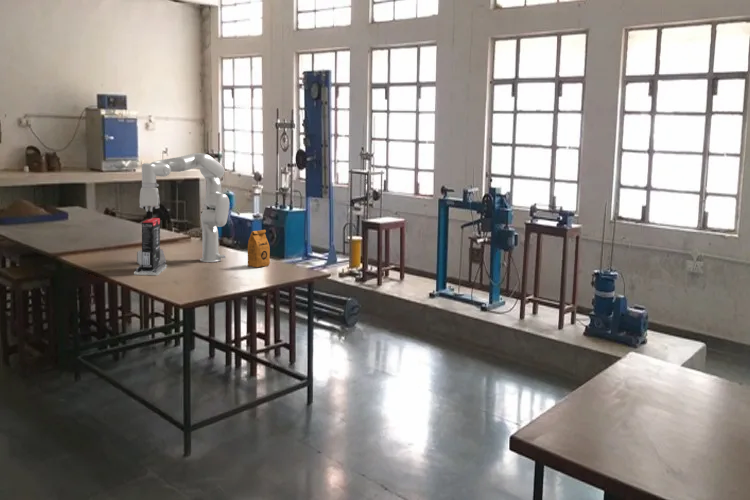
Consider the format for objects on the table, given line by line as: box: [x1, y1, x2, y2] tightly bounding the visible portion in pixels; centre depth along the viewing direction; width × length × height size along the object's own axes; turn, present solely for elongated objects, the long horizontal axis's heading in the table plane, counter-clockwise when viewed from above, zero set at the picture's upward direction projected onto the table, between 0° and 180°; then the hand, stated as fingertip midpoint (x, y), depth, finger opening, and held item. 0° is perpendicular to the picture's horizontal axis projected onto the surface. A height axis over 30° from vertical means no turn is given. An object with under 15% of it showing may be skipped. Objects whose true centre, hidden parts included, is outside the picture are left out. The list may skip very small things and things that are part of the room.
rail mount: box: [133, 261, 168, 276], centre depth 386 cm, size 13×22×4 cm, turn 4°
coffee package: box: [247, 229, 271, 268], centre depth 408 cm, size 10×12×22 cm
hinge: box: [136, 248, 167, 266], centre depth 408 cm, size 17×5×10 cm, turn 125°
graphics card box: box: [141, 217, 161, 269], centre depth 384 cm, size 17×7×27 cm, turn 5°
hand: (149, 218), depth 381 cm, fingers closed
